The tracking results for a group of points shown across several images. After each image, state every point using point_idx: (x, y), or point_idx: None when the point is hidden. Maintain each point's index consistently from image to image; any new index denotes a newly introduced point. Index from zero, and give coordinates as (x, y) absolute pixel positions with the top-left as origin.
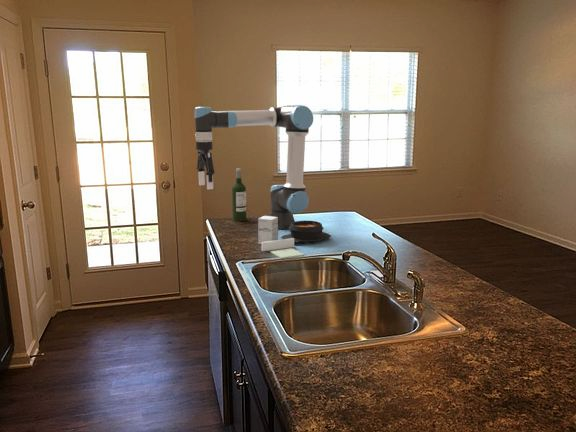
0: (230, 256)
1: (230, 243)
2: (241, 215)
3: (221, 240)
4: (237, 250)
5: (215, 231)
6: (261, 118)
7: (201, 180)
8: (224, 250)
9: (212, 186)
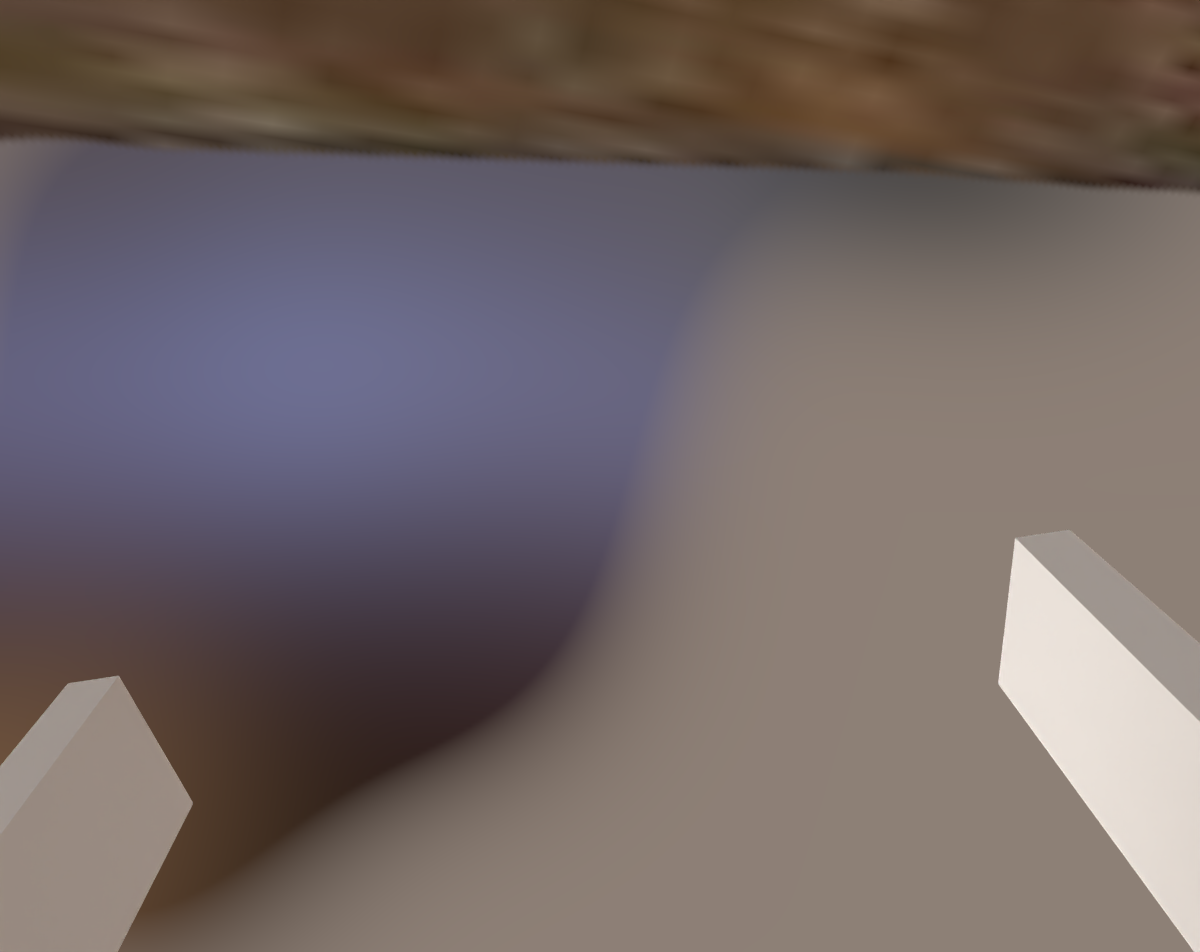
0: (1156, 133)
1: (685, 30)
2: None
3: (522, 117)
4: (997, 7)
5: (56, 118)
6: None
7: (81, 894)
8: (929, 156)
9: (1118, 599)
